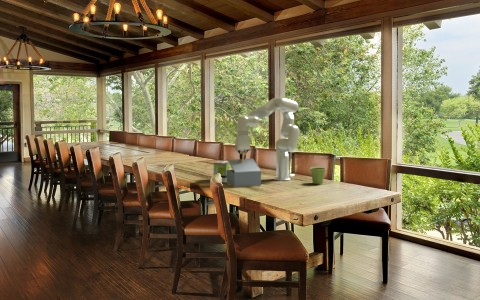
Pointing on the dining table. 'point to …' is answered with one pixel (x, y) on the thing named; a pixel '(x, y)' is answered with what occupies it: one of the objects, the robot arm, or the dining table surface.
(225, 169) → the tea box
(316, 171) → the plant pot
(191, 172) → the dining table surface
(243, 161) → the lid flap
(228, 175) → the slate box
